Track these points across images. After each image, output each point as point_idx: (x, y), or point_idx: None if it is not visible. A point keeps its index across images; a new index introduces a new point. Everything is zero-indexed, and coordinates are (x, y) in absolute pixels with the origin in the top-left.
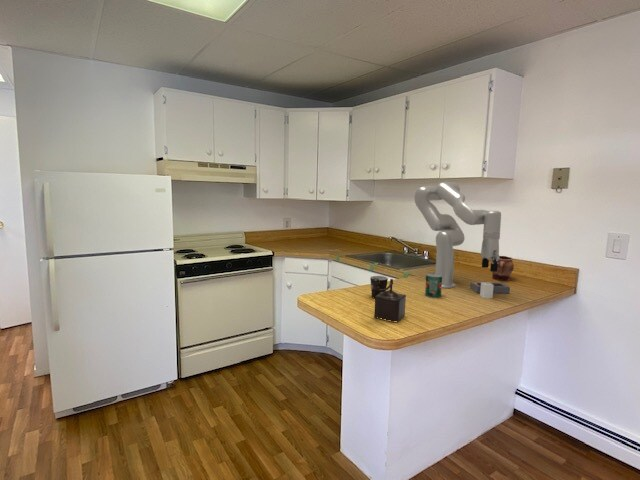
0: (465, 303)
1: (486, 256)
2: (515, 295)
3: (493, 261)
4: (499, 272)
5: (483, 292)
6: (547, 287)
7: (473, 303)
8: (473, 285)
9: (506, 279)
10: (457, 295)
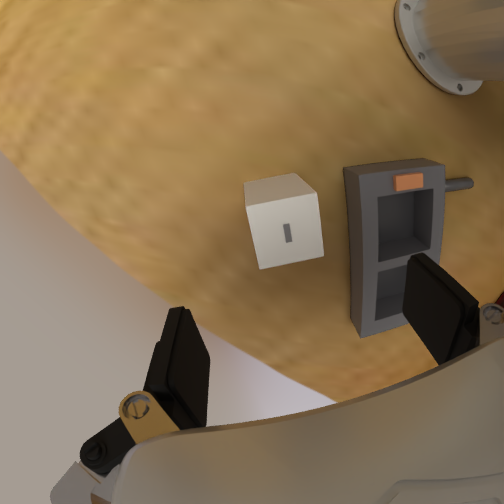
0: (107, 78)
1: (244, 465)
2: (326, 333)
3: (131, 431)
4: None
5: (252, 188)
6: None
7: (117, 115)
8: (407, 166)
9: None
10: (258, 42)
